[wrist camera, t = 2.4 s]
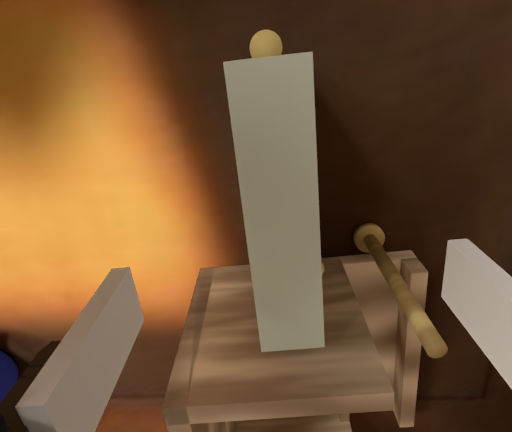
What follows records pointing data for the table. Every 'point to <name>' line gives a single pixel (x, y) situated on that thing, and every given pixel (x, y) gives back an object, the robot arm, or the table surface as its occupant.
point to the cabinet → (305, 360)
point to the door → (279, 190)
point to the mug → (7, 374)
